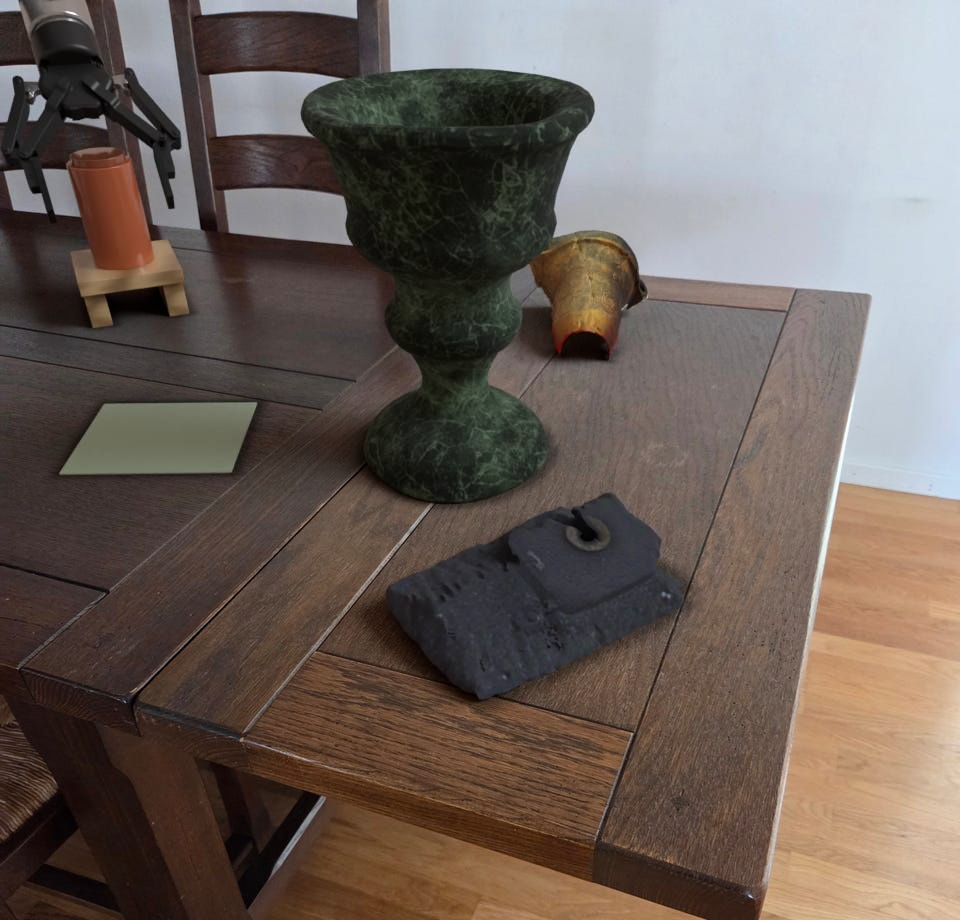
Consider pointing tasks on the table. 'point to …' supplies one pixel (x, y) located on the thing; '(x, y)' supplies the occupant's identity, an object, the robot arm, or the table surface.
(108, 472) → the mat
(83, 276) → the stand
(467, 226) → the goblet
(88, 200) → the canister
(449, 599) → the grey block with grommet
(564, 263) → the pot
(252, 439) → the table surface
